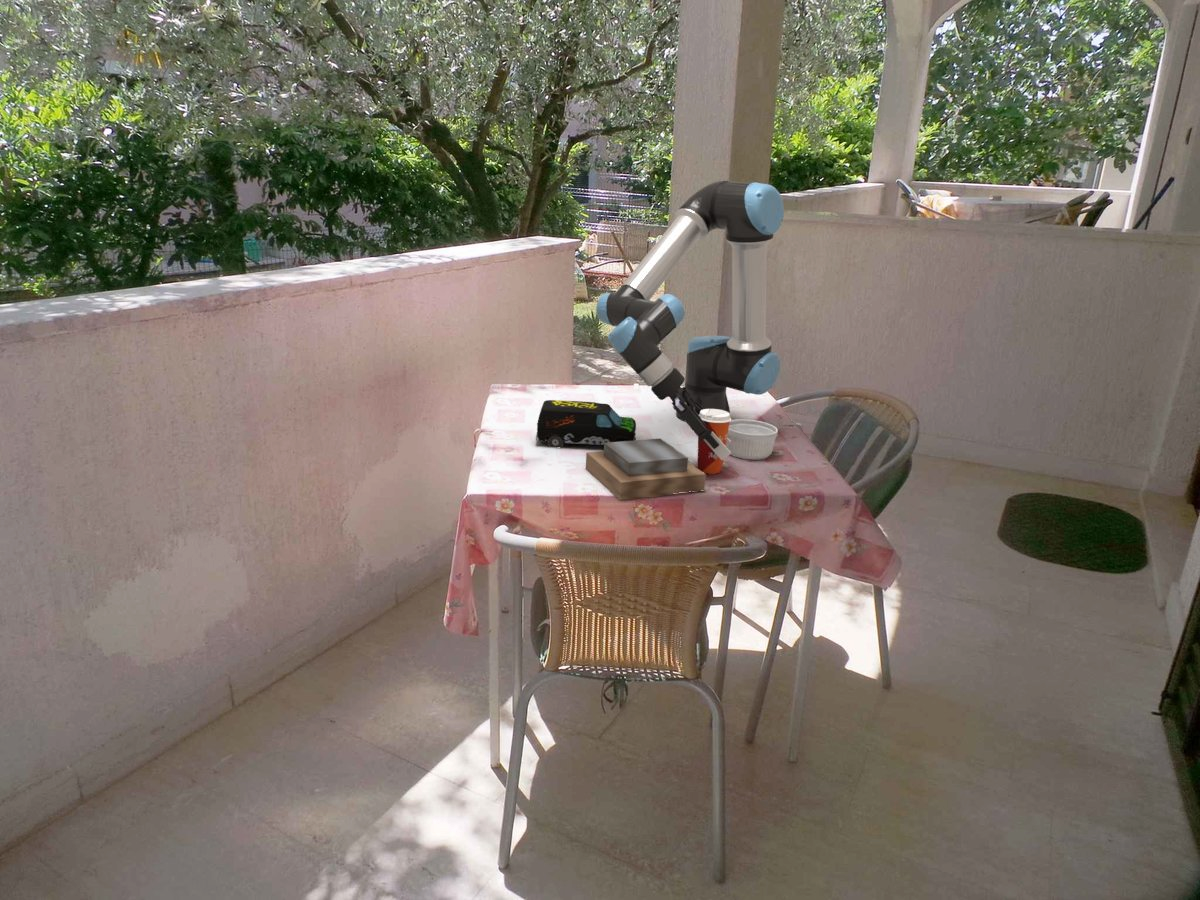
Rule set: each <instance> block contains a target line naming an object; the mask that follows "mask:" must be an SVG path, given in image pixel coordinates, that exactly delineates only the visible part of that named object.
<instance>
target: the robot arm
mask: <svg viewBox="0 0 1200 900" xmlns="http://www.w3.org/2000/svg"><path fill="white" fill-rule="evenodd" d="M784 213H785V207H784V202H783V198H782V195H781V194H780V192H779V190H777V188H776V187H774V186H773V185H771V184H768V183H761V182H756V181H755V182H754V181H751V182H750V181H728V180H717V181H715V182H711V183H710V184H709V183H708V184H706V185H705V186H703V187H702V188H700V189H699V190H697V191H696V192H695V193H693V194H692V195H691V196H690V197H689V198H688V199H687V200H685V202H684V203H682V205H681V206H680V207H679V208H678V210H676V212H675V213H674V214H675V215H674V219H675V220H673V222H672V223H671V225H670V226H668V228H666V230H665V232H663V234H662V235H661V237H660V238H659V239H658V240H657V242H656V243H655V244H654V245H653V246H652V248H651V249H650V250H649V251H648V252H647V253H646V255H645V256H644V257H643V259H642V260H641V261H640V262H639V263H638V265H637V266H636V267H635V269H633V271H632V272H631V273H630V275H629V276H628V277H627V278H626V280H625V281H623V283H622V284H621V286H620V287H619V288H618V290H617V291H616V292H606V293H603V294H602V295H601V296H600V297H599V298H598V300H597V302H596V308H595V311H596V316H597V317H598V319H599V321H601V322H602V323H603V324H606V325H609V326H612V327H614V328H613V329H612V330H611V331H610V332H609V333H608V336H607V340H608V342H609V343H610V345H611V346H612V347H613V348H614V350H615V351H616V353H617V354H618V355H619V356H621V357H622V359H623V360H624V361H625V362H626V363H627V365H629V367H631V369H632V370H633V371H634V372H635V373H636V374H637V375H638V380H639V381H640V382H641V381H643V382H644V383H645V385H646V386H648V387H651V389H650V390H651V392H652V393H653V394H654V395H655V396H656V397H657V399H659V401H663V400H666V399H667V398H670V400H671V401H672V402H671V404H672V408H673V410H675V411H676V414H675V415H676V418H678V419H680V420H681V421H684V422H685V423H686V424H687V426H689V427H690V429H691V430H692V431H693V432H694V433H695V435H696V436H697V439H698V438H699V441H700V442H701V441H702V440H704V441H705V442H706V443H707V444H708V446H709V447H710V448H711V449H712V450H713V451H714V452H715V454H716V455H717V456H718V457H719V458H720V459H721V460H723V461H724V459H726V458H727V457H728V456H731V455H730V454H731V452H730V451H729V450H728V448H727V447H726V446H727V445H728V444H729V443H731V441H730V440H729V439H728V438H727V441H726V446H725V445H724V444H723V443H722V442H721V440H720V439H719V438H718V437H717V436H716V435H715V434H714V432H713V431H712V432H711V430H709V428H708V427H707V426H706V424H705V423H704V421H703V420H702V419H701V417H700V416H699V414H700V411H701V410H703V409H719V410H724V411H727V412H728V413H729V414H730V415H731V408H730V406H729V401H728V395H727V388H729V389H731V390H735V391H740V392H744V393H745V394H749V395H750V394H752V395H758V396H760V395H763V394H766V393H767V392H768V391H769V390H770V389H772V388H773V386H774V385H775V383H776V382H777V379H778V377H779V374H780V370H781V360H780V359H781V358H780V357H779V355H778V354H777V353H775V352H772V341H771V340H770V339H769V338H768V337H767V334H766V333H767V330H766V329H767V318H766V317H767V263H768V258H767V257H768V256H767V254H768V244H770V243H771V242H772V241H773V239H774V234H776V233H777V232H778V231H779V230H780V228H781V226H782V222H783V220H784V216H785V214H784ZM719 229H720V230H725V241H726V242H727V243H728V244H729V245H730V246H731V248H732V249H731V250H732V251H731V253H732V254H731V259H732V262H731V263H732V264H731V265H732V269H731V270H732V271H731V272H732V278H731V283H732V284H731V286H732V292H731V293H732V295H731V296H732V298H731V299H732V302H731V303H732V304H731V305H732V315H731V316H732V320H731V321H732V322H731V323H732V328H731V329H732V330H731V331H732V336H726V335H701V336H695V337H692V338H691V339H690V340H689V342H688V346H687V347H688V348H687V351H686V364H685V376H683V374H682V373H680V371H679V370H678V369H677V368H676V367H674V363H673V362H671V360H670V359H669V358H668V357H667V356H666V355H665V353H663V351H662V350H661V349H660V348H659V346H658V345H659V344H660V343H661V342H662V341H663V340H664V339H665V338H666V337H667V336H668V335H670V333H672V331H674V329H676V328H677V327H678V326H679V324H680V323H681V322H682V321H683V319H684V318H685V315H686V311H685V308H684V304H683V303H682V302H681V300H680V299H679V298H678V297H677V296H675V295H673V294H670V293H665V294H662V295H661V296H660V297H658V298H657V299H656V300H655V301H653V300H651V299H652V298H653V296H654V295H655V293H656V292H657V291H658V290H659V289H660V287H661V286H663V284H664V283H665V281H666V280H667V279H668V277H669V276H670V275H671V274H672V272H673V271H674V270H675V268H677V266H678V265H679V264H680V262H681V261H682V260H683V259H684V258H685V256H686V255H687V254H688V252H690V250H691V249H692V247H694V245H695V244H696V242H697V241H698V240H703V239H704V238H705V237H706V236H708V234H709V233H710V232H712V231H714V230H719ZM683 383H684V386H682V385H683ZM701 432H702V433H701Z"/></svg>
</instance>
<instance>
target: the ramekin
mask: <svg viewBox="0 0 1200 900" xmlns="http://www.w3.org/2000/svg"><path fill="white" fill-rule="evenodd" d="M778 433H779V430H778V428H777V426H774V425H773V424H771V423H768V422H764V421H760V420H755V419H745V418H743V419H741V418H740V419H731V421H730V423H729V429H728V435H727V438H728V439H729V440H730V441H731V443H729V444H728V445H727V446H726V447H727V448H728V450H729V451H730V452H731V454H730V455H729V456H732V457H735V458H738V459H743V460H750V461H751V460H752V461H757V460H764V459H765V460H766V459H767V458H768V457H770V455H771V454H772V452H773V450H774V446H775V442H776V438H777V437H778Z"/></svg>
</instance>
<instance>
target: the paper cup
mask: <svg viewBox="0 0 1200 900" xmlns="http://www.w3.org/2000/svg"><path fill="white" fill-rule="evenodd" d="M699 416H700V417H701V419H702V420H703V421H704V423H705V424H706V426H707V427H708V428H709V430H711V432H712V431H713V432H714V434H715V435H716V436H717V437H718V438H719V439H720V440H721V442H722V443H723V444H724V445H725V446H726V441H727V435H728V429H729V423H730V421H731V420H732V418H731V413H730V414H729V413H728V412H727V411H724V410H719V409H703V410H701V411H700V414H699ZM701 433H702V432H701ZM723 464H724V459H723V460H721V459H720V458H719V457H718V456H717V455H716V454H715V452H714V451H713V450H712V449H711V448H710V447H709V446H708V444H707V443H706V442H705V441H704V440H702V441H701V442H700V441H699V438H698V437H697V469H699V470H700V471H702V472H704V473H705V474H706V473H708V474H707V475H717V474H716V473H718V474H721V473H722V469H723Z"/></svg>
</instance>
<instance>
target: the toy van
mask: <svg viewBox="0 0 1200 900" xmlns="http://www.w3.org/2000/svg"><path fill="white" fill-rule="evenodd" d="M536 426H537V427H536V435H535V441H536V442H540V441H541V442H547V443H546V444H547V445H548V447H549V446H550V447H549V448H557V447H560V449H561V448H562V447H563V448H564V445H565V444H572V445H574V444H576V445H577V444H579V445H597V446H604V443H608V442H621V441H634V440H637V438H636V432H637V431H636V429H637V423H636V420H635V419H634V417H629V416H627V417H626V416H620V415H619V414H618V413H617V412H616V411H615V410H614V409H613V408H612V406H611V405H610V404H608V403H602V402H601V403H600V402H595V401H580V400H557V399H555V400H554V399H552V400H551V399H548V400H544V401H543V403H542V406H541V408H540V412H539V415H538V420H537V423H536ZM563 448H562V449H563Z"/></svg>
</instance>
